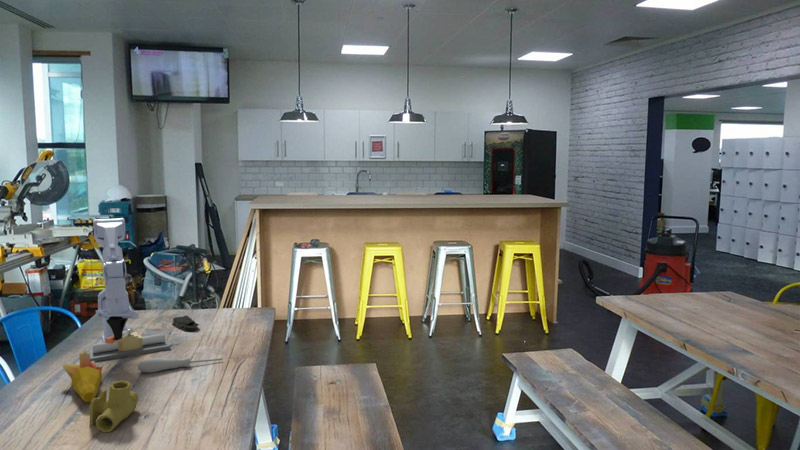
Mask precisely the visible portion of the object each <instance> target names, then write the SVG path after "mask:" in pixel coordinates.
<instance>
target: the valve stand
mask: <svg viewBox="0 0 800 450" xmlns="http://www.w3.org/2000/svg"><path fill="white" fill-rule="evenodd" d="M91 347H92V348H91V349H88V355H89V358H90V361H94V362H95V363H96V362H102V361H107V360H111V359H113V360H114V359H119V358H125V357H126V358H127V357H131V356H139V355H144V354H150V353H157V352H161V351H168V350H171V344H170V343H169V341H168V340H167V338H166V335H165V333H159V334H153V335H147V336H142V334H138V332H137V331H135V332H134V331H133V333H129V334H127V335H125V336H123V337H122V339H120V340H118V341H116V342H114V343H112V344H109V343H104V342H100V343H95V344H94V343H93V344H92V346H91Z"/></svg>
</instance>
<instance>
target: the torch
mask: <svg viewBox="0 0 800 450" xmlns="http://www.w3.org/2000/svg"><path fill="white" fill-rule="evenodd" d="M61 366H62V368H63V369H64V371H65V372H66V373H67V375H68V376H69V378H70V379H71V384H72V389H73V390H74V391H75V392H76V393H77V394H78V395H79V396H80V397H81V400H83V401H84V402H85V403H89V402H91V401H92V399H93V398H96V396H97V394H98V391H99V387H100V384H101V382H102V381H103V380H102V379H103V375H102V371H103V366H97V364H96V362H94V361H90V356H89V352H88V351H87V349H86V347H85V346H84V347H83V348H82V349H81V351H79V364H75V363H69V362H68V361H66V360H64V363H62V364H61Z"/></svg>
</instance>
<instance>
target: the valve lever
mask: <svg viewBox="0 0 800 450" xmlns="http://www.w3.org/2000/svg"><path fill="white" fill-rule="evenodd" d="M133 332H134V328H132V327H130V328H126V329H125V331H123V332H122V337H123V336H125V335H127V334H129V333H133ZM121 339H122V338H121ZM119 340H120V339H119ZM116 341H118V340H115V338H114V335H112V336H110V337H108V338H106V343H109V344H112V343H114V342H116Z"/></svg>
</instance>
